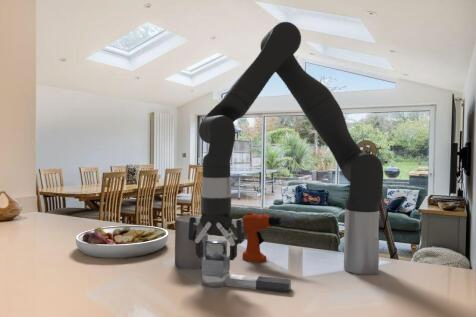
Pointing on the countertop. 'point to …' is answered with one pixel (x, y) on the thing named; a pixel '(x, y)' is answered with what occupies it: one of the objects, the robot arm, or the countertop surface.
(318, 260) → the countertop surface
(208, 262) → the cylinder on square block
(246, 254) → the toy drill
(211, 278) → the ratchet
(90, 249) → the bowl
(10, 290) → the countertop surface
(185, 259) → the pillar candle
